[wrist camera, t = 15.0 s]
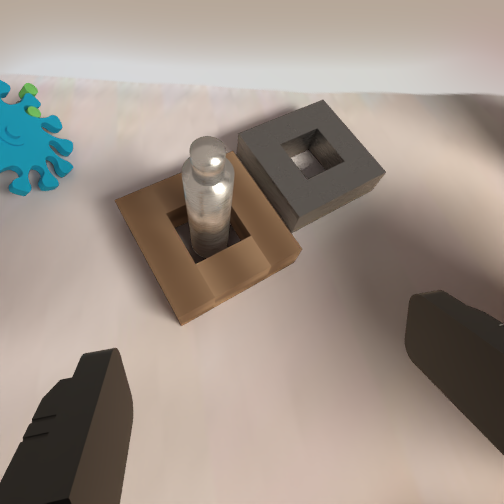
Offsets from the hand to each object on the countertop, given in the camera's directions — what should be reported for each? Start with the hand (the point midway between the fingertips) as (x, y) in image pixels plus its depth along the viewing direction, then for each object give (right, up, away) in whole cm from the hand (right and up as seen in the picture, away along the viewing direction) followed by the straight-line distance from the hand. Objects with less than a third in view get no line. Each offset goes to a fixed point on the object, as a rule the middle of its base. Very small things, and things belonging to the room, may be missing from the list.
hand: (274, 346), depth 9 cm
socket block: (+5, +11, +24) cm, 27 cm away
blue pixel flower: (-21, +11, +22) cm, 32 cm away
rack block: (-4, +4, +20) cm, 21 cm away
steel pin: (-4, +4, +20) cm, 21 cm away
